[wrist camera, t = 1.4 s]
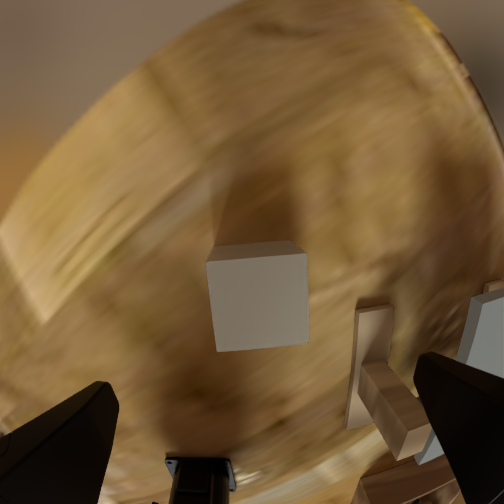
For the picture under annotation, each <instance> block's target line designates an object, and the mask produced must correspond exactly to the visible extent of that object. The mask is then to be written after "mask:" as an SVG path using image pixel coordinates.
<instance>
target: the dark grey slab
mask: <svg viewBox="0 0 504 504" xmlns="http://www.w3.org/2000/svg"><path fill="white" fill-rule="evenodd" d="M455 360H456V361H459V362H461V363H464V364H467V365H469V366H472V367H475V368H477V369H480V370H483V371H485V372H488V373H491V374H493V375H496V376H499V377H502V378H504V288H500V289H497V290H494V291H490V292H487V293H484V294H480V295H476V296H473V297H471V301H470V306H469V311H468V315H467V319H466V324H465V328H464V332H463V335H462V339H461V343H460V346H459V350H458V353H457V356H456V359H455ZM416 399H417V400H418V401H419V402H420V403H421V405H422V402H421V399H420V397H417V398H416ZM422 406H423V405H422ZM442 454H444V452H443V450H442V447H441V445H440V443H439V441H438V439H437V437H436V435H435V433H434V431H433V429H432V430H431V432H430V434H429V437H428V439H427V441H426V444H425V446H424V448H423V450H422V451H421V452H419V453H416V454H415V456H414V458H415V460H416V462H417V464H418V465H421V464H423V463H425V462H428V461H430V460H432V459H434V458H436V457H438V456H440V455H442Z"/></svg>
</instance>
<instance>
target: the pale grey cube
mask: <svg viewBox="0 0 504 504" xmlns="http://www.w3.org/2000/svg"><path fill="white" fill-rule="evenodd" d="M205 263H206V272H207V281H208V289H209V297H210V305H211V313H212V320H213V328H214V335H215V342H216V348H217V352H225V351H239V350H251V349H262V348H272V347H281V346H290V345H298V344H306V343H309V304H308V267H307V253H306V252H305V251H303V250H302V249H301V248H300V247H298V246H297V245H296V244H294V243H293V242H292V241H290V240H283V241H271V242H259V243H247V244H235V245H223V246H214V247H213V248H212V250H211V252H210V254H209V256H208V258H207V260H206V262H205Z"/></svg>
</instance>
